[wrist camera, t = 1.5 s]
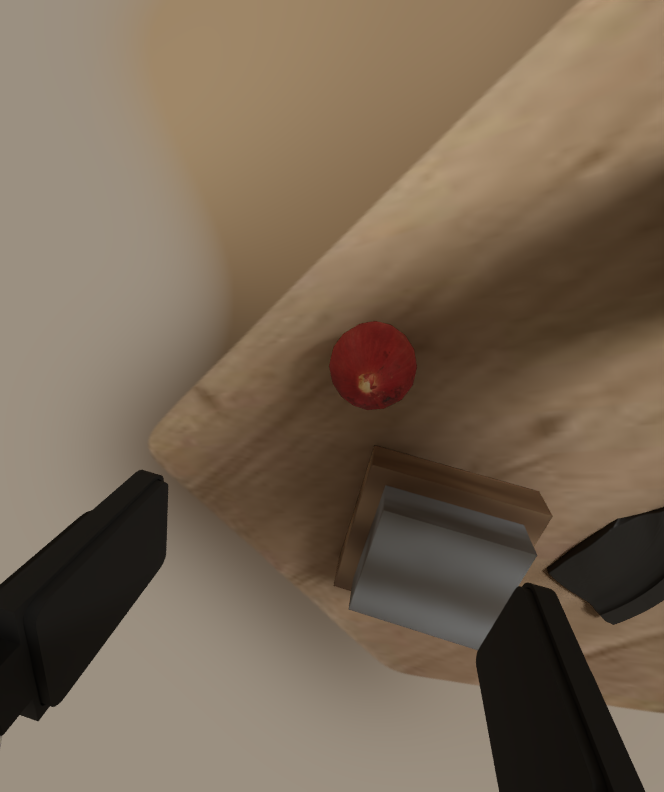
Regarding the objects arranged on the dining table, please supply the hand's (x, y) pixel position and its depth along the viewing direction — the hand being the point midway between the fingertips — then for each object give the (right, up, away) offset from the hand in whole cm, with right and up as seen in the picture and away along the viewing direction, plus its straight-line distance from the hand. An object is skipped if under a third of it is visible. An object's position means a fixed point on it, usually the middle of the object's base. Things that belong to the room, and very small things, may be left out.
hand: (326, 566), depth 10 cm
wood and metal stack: (+9, -8, +24) cm, 27 cm away
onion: (+4, +8, +19) cm, 21 cm away
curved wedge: (+26, -9, +22) cm, 36 cm away
